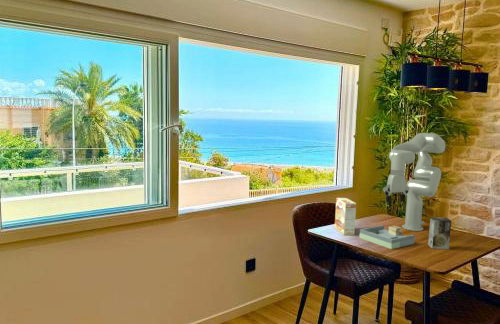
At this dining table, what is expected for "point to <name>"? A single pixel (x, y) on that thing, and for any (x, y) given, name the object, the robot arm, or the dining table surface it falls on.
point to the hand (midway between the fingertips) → (395, 201)
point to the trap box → (385, 237)
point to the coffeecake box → (345, 216)
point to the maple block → (395, 230)
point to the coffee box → (439, 233)
